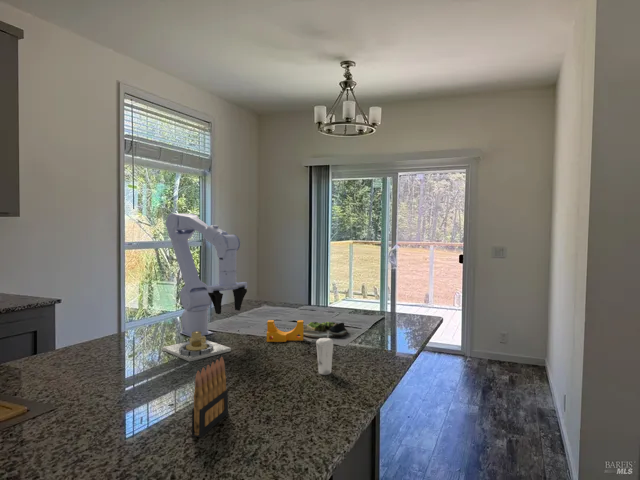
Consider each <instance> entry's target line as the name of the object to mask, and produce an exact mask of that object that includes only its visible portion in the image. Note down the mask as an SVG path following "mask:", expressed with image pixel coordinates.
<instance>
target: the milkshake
mask: <svg viewBox="0 0 640 480" xmlns="http://www.w3.org/2000/svg"><path fill="white" fill-rule="evenodd" d="M334 344H335V343H334V340H333V339H332V338H331V337H329V332H327V337H326V338H317V340H316V341H315V345H316V353H317V354H316V356H317V357H316V358H317V368H318V369H317V372H318V375H319V374H320V375H322V376H324V375H325V376H326V375H331V374H332V365H333V364H332V363H333V351H334Z"/></svg>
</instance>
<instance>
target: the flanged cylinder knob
mask: <svg viewBox="0 0 640 480" xmlns="http://www.w3.org/2000/svg"><path fill="white" fill-rule="evenodd" d="M203 349H207V344H205V343H201V331H194V332H192V344H188V345H187V346H186V350H189V351H196V350H203Z"/></svg>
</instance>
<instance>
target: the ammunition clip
mask: <svg viewBox="0 0 640 480" xmlns="http://www.w3.org/2000/svg"><path fill="white" fill-rule="evenodd" d="M225 364H226V363H225V360H224V357H223V356H220V358H219V359H218V358H217V359H216V361H215V362H214V361H212V362H211V364H207V365H206V368H205V367H202V369H201V372H200V370H196V371H197V372H196V374H195V379H194V380H195V381H194V392H193V407H192V408H191V411H192V412H191V414H192V415H191V437H196V438H202V437H203V436H204V435H206V434H207V433H208V432H209V431H210V430H211V429H213V427H215V426H217V424H218V423H220V421H222V420H223V419H224V418H225V417H226V416H227V415H228V414H229V398H228V397H229V395H228V394H229V392H228V389H227V376H226V369H225V368H226V367H225V366H226V365H225Z"/></svg>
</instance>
